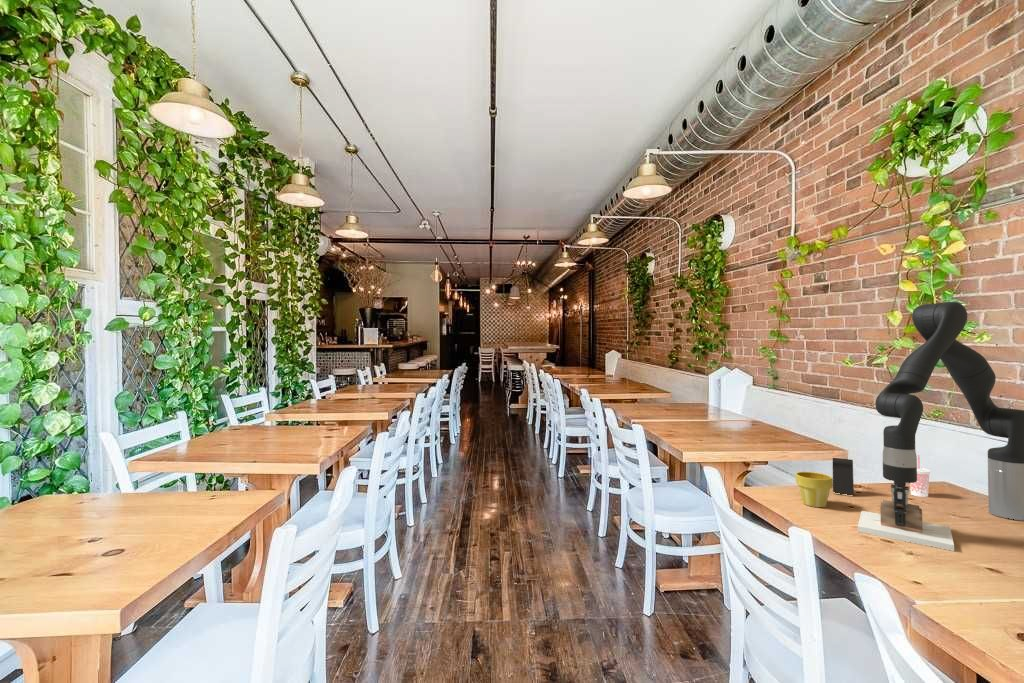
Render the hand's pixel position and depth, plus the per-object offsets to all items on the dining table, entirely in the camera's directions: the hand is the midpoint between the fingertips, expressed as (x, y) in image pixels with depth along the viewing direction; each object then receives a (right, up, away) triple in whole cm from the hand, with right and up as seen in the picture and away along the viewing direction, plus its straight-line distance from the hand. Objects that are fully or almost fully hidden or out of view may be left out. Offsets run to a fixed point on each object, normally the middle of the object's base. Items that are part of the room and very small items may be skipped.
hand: (900, 522), depth 132 cm
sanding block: (0, -1, 0) cm, 1 cm away
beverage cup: (+34, -3, +32) cm, 47 cm away
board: (+1, -3, 0) cm, 3 cm away
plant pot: (-10, -3, +23) cm, 25 cm away
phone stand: (+9, -3, +36) cm, 37 cm away
